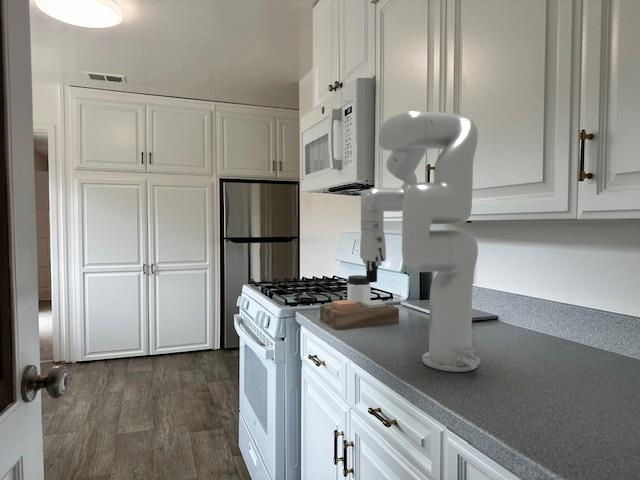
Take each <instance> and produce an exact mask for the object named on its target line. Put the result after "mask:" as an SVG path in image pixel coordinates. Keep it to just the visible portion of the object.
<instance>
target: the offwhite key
mask: <svg viewBox="0 0 640 480" xmlns="http://www.w3.org/2000/svg"><path fill="white" fill-rule="evenodd" d="M382 302H383V301H381V300H370V301H365V302H361V305H363V306H365V307H368V308H377V307H386V304H387V303H386V302H383V303H382ZM385 303H386V304H385Z"/></svg>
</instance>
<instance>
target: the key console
mask: <svg viewBox="0 0 640 480" xmlns="http://www.w3.org/2000/svg"><path fill="white" fill-rule="evenodd" d="M364 302H365V301H364ZM381 302H382V303H385V304H386V307H377V308H368V307H365V306H363V305H361V302H355V303H356V310H345V311H338V310H336V309H334V308H332V303H330V304H320V305H319V310H320V311H319V313H320V314H319V317H320V318H319V320H320V322H323V323H325V324H326V325H327V326H330V327H331V328H333V329H335V330H337V331H342V330H351V329H361V328H370V327H379V326H388V325H396V324H399V323H400V321H399V320H400V307H398V306H394V305H391V304H388V303H386V302H384V301H381Z"/></svg>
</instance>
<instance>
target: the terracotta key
mask: <svg viewBox="0 0 640 480" xmlns="http://www.w3.org/2000/svg"><path fill="white" fill-rule="evenodd" d="M331 304H332V308H334V309H336V310H338V311H345V310H356V303H355V302H353V301H350V300H347V299H342V300H341V299H340V300H339V299H338V300H331Z"/></svg>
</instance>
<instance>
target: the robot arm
mask: <svg viewBox="0 0 640 480" xmlns="http://www.w3.org/2000/svg"><path fill="white" fill-rule="evenodd" d="M478 138H479V134H478V128H477V125H476V123H475V122H474V121H473V120H472V119H471V118H470V117H468V116H466V115H463V114H457V113H451V112H450V113H449V112H437V111H435V112H434V111H424V110H423V111H422V110H407V111H405V112H401V113H399V114H395V115H393V116H391V117H389V118H386V120H385V121H384V122H383V124H382V125H381V126H380V129H379V132H378V143H379V144H378V145H379V146H380V148H381V149H383V150H384V151H391V152H390V153H389V156H388V157H387V160H386V164H385V165H386V169H387V170H388V172H389V173H390V174H391V175H392V176H393V177H395V178H397V179H399V180H401V181H402V182H403V183H402V185H401V186H400V187H370V188H369V189H364V190H362V192H361V194H360V232H361V233H360V242H359V243H360V244H359V256H360V259H361V260H362V263H363V264H364V266H365V270H366V271H365V272H366V273H365V274H366V275H365V276H366V281H367V282H369V284H371V283H377V282H378V270H379V267H380V266H382V262H385V261H386V259H387V251H386V250H387V249H386V248H387V247H386V245H387V244H386V236H385V232H384V222H385V221H384V215H385V214H384V213H385V212H402V216H401V217H402V220H401V223H402V224H401V228H402V229H401V253H402V254H401V255H402V260H403V263H404V265H405V267H406V268H407V269H408V270H409V271H411V272H414V273H415V272H416V273H430V272H433V273H435V272H437V273H436V275H435V276H434V278H433V280H432V282H431V284H430V289H429V290H430V291H429V326H428V327H429V329H428V330H429V333H428V334H429V335H428V342H429V343H428V351H427V352H425V353H423V354H422V358H421V359H422V362H423V364H424V365H426V366H427V367H430V368H432V369H435V370H439V371H444V372H452V373H455V372H456V373H459V372H461V373H463V372H469V371H473V370H475V369H477V368H478V366H479V365H480V364H481V362H482V359H481V358H480V357H478V356H475V354H474V353H475V349H474V348H473V347H472V324H473V323H472V321H473V320H472V319H473V318H472V316H473V315H472V314H473V313H472V312H473V309H472V308H473V285H474V284H473V283H474V282H473V281H474V276H475V275H474V274H475V270H476V269H475V268H476V264H477V260H478V255H479V246H478V243H477V241H476V239H475V238H474V236H473V235H472V234H470V233H469V232H467V231H464V230H461V229H460V230H459V229H437V230H435V229H434V230H433V229H432V230H431V227H432V226H431V225H457V224H458V225H459V224H462V223H464V222H466V221H468V220H469V219H470V216H471V214H472V208H473V187H474V186H473V185H474V184H473V181H474V179H473V178H474V159H475V155H476V151H477V146H478V140H479V139H478ZM428 149H431V150H432V149H434V150H442V151H441V152H440V154H439V155H438V157H437V159H436V161H435V163H434V177H433V182H427V181H426V182H418V179H417V175H416V172H415V171H416V170H417V168H418V166H419V164H420V162H421V161H422V160H423V158H424V156H425V155H426V153H427V151H428Z"/></svg>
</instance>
